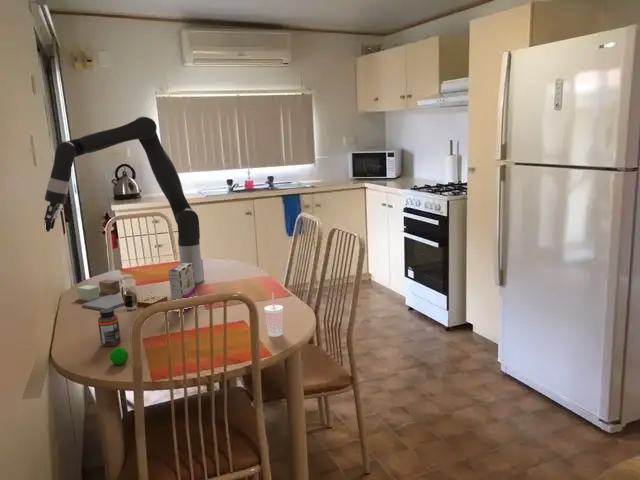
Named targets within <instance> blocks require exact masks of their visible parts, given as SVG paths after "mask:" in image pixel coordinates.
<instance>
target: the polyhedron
mask: <svg viewBox="0 0 640 480" xmlns="http://www.w3.org/2000/svg"><path fill="white" fill-rule="evenodd" d="M109 358H110V359H109V360H110V361H111V362H112V364H115V365H117V366H121V365H124V364H125V363H126V362H127V361H128V360H129V359H128V358H129V353H128V350H127V349H126V348H124V347H121V346H118V347H115V348H114V349H112V350H111V352H110V355H109Z"/></svg>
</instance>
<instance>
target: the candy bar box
mask: <svg viewBox="0 0 640 480" xmlns="http://www.w3.org/2000/svg"><path fill="white" fill-rule="evenodd" d="M168 277H169V287H170V295H171V297H170V298H171V301H172V300H176V299H182V298H189V297H194V296H196V297H197V293H196V284H195V283H194V273H193V263H181V264H180V263H179V264H177V265H175V266H174V267H172V268H171V269H168ZM190 309H191V308H188V309H184V312H183V313H186V312H187V311H189V310H190ZM172 312H173V313H180V312H179V311H178V312H177V311H173V310H172Z"/></svg>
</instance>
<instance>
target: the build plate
mask: <svg viewBox="0 0 640 480" xmlns="http://www.w3.org/2000/svg"><path fill="white" fill-rule="evenodd" d="M122 296H123V295H116V294H107V295H105V296H102V297H100V298H98V299H95V300H92V301H87V302H85V303H82V305H81V306H82V308H87V309H94V310H97V311H98V310H99V311H101V310H103V309H107V308H112V309H113V310H114V309H116V308H119V307H121V306H124V301H123V298H122Z"/></svg>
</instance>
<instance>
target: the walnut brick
mask: <svg viewBox="0 0 640 480" xmlns="http://www.w3.org/2000/svg"><path fill="white" fill-rule="evenodd" d="M98 285H99V286H98V287H99V294H100V293H101V294H106V293H107V295H110V294H111V295H115V294H116V293H119V292H121V286H120V280H117V279H109V278H106V279H103V280H100V281H98Z"/></svg>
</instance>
